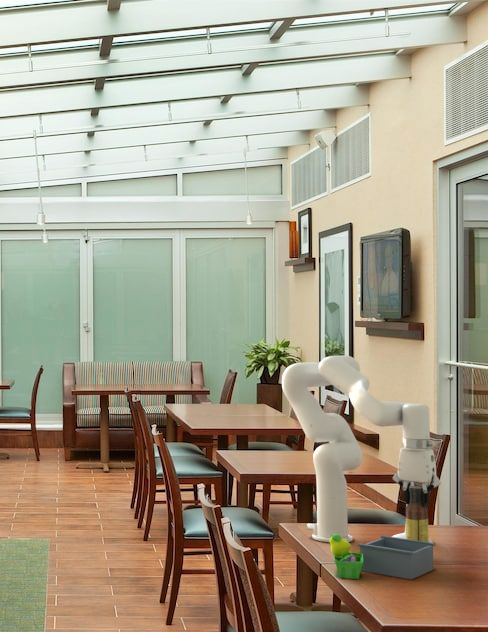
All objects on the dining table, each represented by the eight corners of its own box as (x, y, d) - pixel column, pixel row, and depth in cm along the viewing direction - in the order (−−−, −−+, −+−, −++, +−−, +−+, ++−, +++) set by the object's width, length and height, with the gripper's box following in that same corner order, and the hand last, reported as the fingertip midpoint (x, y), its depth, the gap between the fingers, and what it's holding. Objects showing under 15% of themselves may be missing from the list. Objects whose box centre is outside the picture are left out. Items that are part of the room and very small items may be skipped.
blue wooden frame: (358, 570, 275) (357, 543, 275) (382, 560, 286) (382, 535, 286) (411, 580, 264) (411, 552, 264) (435, 569, 275) (434, 543, 275)
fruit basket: (363, 580, 263) (363, 539, 263) (329, 578, 266) (329, 537, 267) (362, 571, 274) (362, 531, 274) (330, 568, 277) (329, 529, 277)
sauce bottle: (427, 551, 292) (428, 486, 292) (429, 555, 287) (430, 489, 286) (404, 548, 295) (405, 484, 295) (405, 553, 289) (407, 487, 289)
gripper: (449, 445, 288) (450, 506, 287) (393, 441, 300) (394, 499, 299) (439, 447, 282) (440, 509, 282) (383, 443, 294) (384, 502, 294)
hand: (416, 504), depth 291 cm, fingers closed on sauce bottle, 4 cm apart
